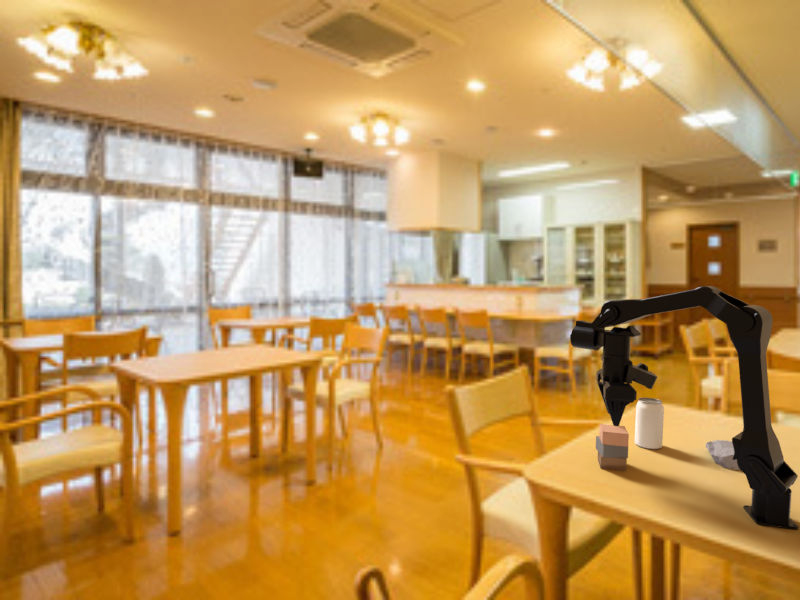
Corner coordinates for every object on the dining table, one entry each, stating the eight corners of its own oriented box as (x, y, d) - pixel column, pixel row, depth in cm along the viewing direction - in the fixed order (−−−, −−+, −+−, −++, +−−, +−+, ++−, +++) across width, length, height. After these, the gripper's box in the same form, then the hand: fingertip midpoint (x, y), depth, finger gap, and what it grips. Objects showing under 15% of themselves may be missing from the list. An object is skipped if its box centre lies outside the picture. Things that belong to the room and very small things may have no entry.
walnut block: (626, 472, 110) (626, 459, 110) (600, 469, 111) (600, 456, 111) (622, 462, 115) (622, 450, 115) (597, 459, 117) (598, 447, 117)
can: (647, 451, 122) (649, 404, 121) (628, 442, 128) (630, 398, 127) (668, 448, 124) (670, 403, 123) (648, 439, 130) (650, 396, 129)
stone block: (723, 477, 112) (770, 472, 110) (719, 457, 112) (767, 451, 110) (701, 459, 123) (743, 454, 122) (697, 440, 123) (740, 435, 122)
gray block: (627, 458, 110) (628, 445, 110) (603, 457, 111) (603, 444, 111) (619, 449, 116) (619, 437, 116) (595, 448, 116) (596, 436, 116)
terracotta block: (628, 446, 109) (628, 434, 109) (602, 444, 111) (602, 431, 111) (623, 438, 115) (624, 426, 114) (599, 436, 116) (599, 423, 116)
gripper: (664, 364, 100) (660, 437, 101) (646, 349, 118) (642, 411, 119) (607, 360, 103) (603, 431, 104) (597, 346, 121) (594, 407, 122)
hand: (613, 419), depth 112 cm, fingers open, 9 cm apart
